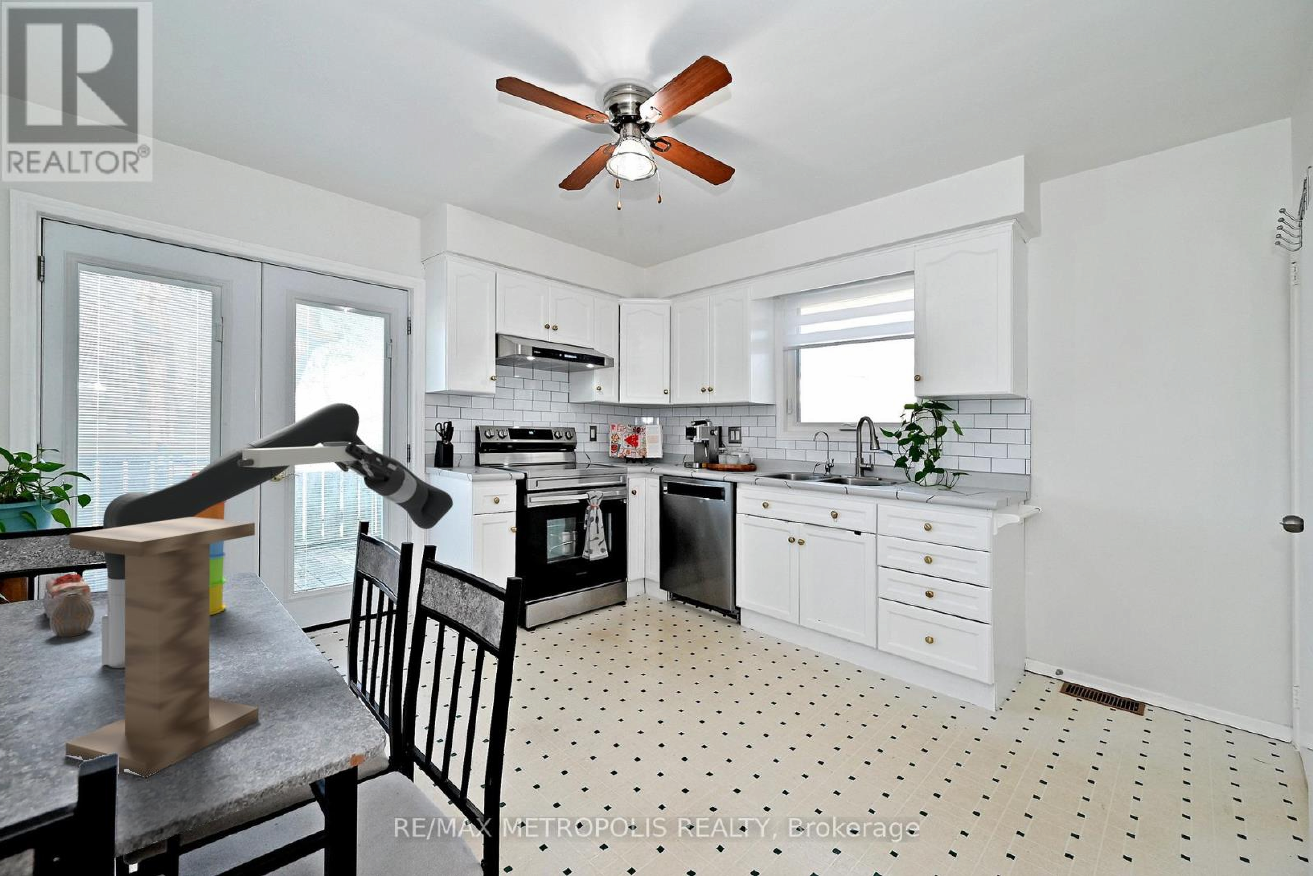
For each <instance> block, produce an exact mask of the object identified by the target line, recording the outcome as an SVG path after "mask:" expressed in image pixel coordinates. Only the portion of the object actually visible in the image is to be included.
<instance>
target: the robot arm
mask: <svg viewBox="0 0 1313 876" xmlns="http://www.w3.org/2000/svg"><path fill="white" fill-rule="evenodd" d="M359 425H360V414H359V412H358V410H357V409H356V408H355V407H354V406H352V405H351V404H348V403H344V402H343V403H342V402H335V403H330V404H327V405H325V406H322V407H321V408H319V409H317V410H316V411H314V412H312V413H310V414H308V415H307V416H305V417H303V418H301V419H300V420H298V421H296V422H294V423H292V424H289V425H288V426H286V427H283V428H281V429H279V430H277V431H273V432H272V433H270V434H268V435H265V436H263V437H261V438H259V439H256V440H254V441H251V442H248V443H245V444H244V445H242V446H239V447H237V448H235V449H232V450H230V451H228V452H226V453H224V454H222V455H220V456H219V457H217V458H216V459H215V460H213V461H212V462H210V463H209V464H207V465H206V466H205V467H204V468H202V469H200V471H198V472H196V473H197V474H195V475H193V476H192V475H191V476H192V477H190V476H189V478H186V479H183V480H181V481H180V482H177V483H175V484H172V485H169V486H167V487H164V488H162V489H159V490H156V491H152V492H150V493H148V492H142V491H131V492H126V493H123V494H121V495H119V496H117V497H115V498H113V500H111V502H110V503H109V504H108V505H107V506H106V508H105V510H104V514H103V521H102V523H103V524H102V526H103V527H102V529H109V528H116V527H123V526H130V525H137V524H144V523H151V522H158V521H165V520H172V519H179V518H186V517H194V516H196V515H197V514H199V513H201V512H202V511H204V510H206V509H208V508H210V507H212V506H214V505H216V504H219V503H221V502H223V501H226V502H227V501H228V500H231V499H232V498H234V497H237V496H239V495H241V494H243V493H244V492H245V493H246V492H247V491H249V490H251V489H253V488H256V487H258V486H259V485H262V484H263V483H266V482H268V481H271V479H274V478H275V477H277V476H279V475H280V474H282V473H283V472H284V471H286V470H287V469H288V468H289V467H291V465H288V466H275V467H261V468H259V467H239V466H238V464H237V462H238V460H241V459H243V449H261V448H286V447H311V446H318V445H319V444H321V446H323V442H350V443H348V445H347V447H346V450H345V452H346V453H348V454H349V455H351V456H352V457H353V458H355V459H356V460H355V461H342V462H333V463H334V464H335V465H336V466H337V467H338V468H339V469H341V471H342V472H343V473H345V472H346V473H348V472H349V470H351V471H353V472H355V473H356V474H357V475H359V476H361V477H362V478H363V480H364V481H363V483H364V484H365V486H366V487H367V488H368V489H370V490H372V491H373V492H374V493H376V494H378V495H379V496H381V497H383V498H384V499H386V500H388V501H390V502H393V503H394V504H396V505H398V506H399V507H400V508H402V509H403V510H405V511H406V513H407V514H408V516H409V517H410V519H411V520H412V522H413V523H414V524H415V526H417V527H418V528H421V529H423V530H428V529H432V528H433V527H435V526H436V525H437V524H438V523H439V521H440V520H442V518H443V517H444V516H445V515H446V514H448V512H449V511H450V510H451V509H452V508H453V506H454V500H453V497H452V495H450V494H449V493H448V492H446V491H445V490H443V489H441V488H438V487H436V486H433V485H431V484H430V483H428V482H426V481H424V480H423V479H421V478H419V477H418V476H417V475H416V474H414V473H413V471H411V470H410V469H409V468H407V467H406V466H405V465H404V464H402V463H401V462H400V461H399V460H397V459H395V458H393V457H390V456H388V455H385V454H383V453H380V452H377V451H376V450H374V449H372V448H371V447H369V445H367V444H366V443H365V442H364V441H363V440H362V439H361V438H360V437H359V436H358V434H357V433H358V428H359ZM356 445H367V451H366V450H362V449H361V448H359V447H358V446H356ZM103 555H104V562H105V565H106V572H107V577H106V578H107V614H104V615H103V616H102V617H101V666H105V665H106V666H108V667H109V668H113V669H125V555H122V554H114V553H106V552H103Z"/></svg>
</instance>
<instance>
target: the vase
mask: <svg viewBox="0 0 1313 876" xmlns="http://www.w3.org/2000/svg"><path fill="white" fill-rule="evenodd" d="M95 616H96V615H95V609H94V606H93V604H92V603H89V602H88V601H87V600H86V599H84V598H83V597H82V596H81V594H80V593H72V594H67V595H65V596H64V598H63V600H62V601H61V602H60V603H59V604H58V605H57V606H56V607H55V608H54V610H53V611H52V614H51V616H50V618H49V626H50V629H51V631H52V632H53V634H55V635H56V636H58V637H60V638H61V637H62V638H69V637H75V636H79V635H82V634H84V633H86V632H87V631H88V630H89V629H90V628H91V627H92V625H93V624H94V622H95V621H94V620H95Z"/></svg>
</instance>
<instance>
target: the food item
mask: <svg viewBox="0 0 1313 876" xmlns="http://www.w3.org/2000/svg"><path fill="white" fill-rule="evenodd" d="M72 593H80V594H81V596H82V597H83V598H84V599H86V600H87V601H88V602H89V603H90V604H92V603H91V601H92V592H91V588H90V585H89V584H88V583H87V582H86V581H85V578H83V576H81V575H80V574H71V573H67V574H65V575H61V576H58V577H54V576H53V577H52V576H51V578H50V579H48V580H46V581H45V588H44V595H43V598H42V604H43V609H44V612H45V615H46V619H50V616H51V614H52V611H53V610H54V608H55V607H56V606H57V605H58V604H59V603H60V602H61V601H62V600H63V598H64V596H65V595H67V594H72Z"/></svg>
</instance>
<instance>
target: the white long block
mask: <svg viewBox="0 0 1313 876" xmlns="http://www.w3.org/2000/svg"><path fill="white" fill-rule="evenodd" d="M348 443H350V442H323V445H315V446H311V447H286V448H261V449H243V459H241V460H238V462H237V464H238V466H239V467H259V468H261V467H275V466H288V465H290V466H298V465H313V464H315V465H316V464H327V463H334V462H342V461H355V460H356V459H355V458H353V457H352V456H351V455H349V454H348V453H346V452H345V450H346V447H347V445H348ZM356 446H358V447H359V448H361V449H362V450H366V451H367V446H368V445H367V444H366V445H356Z"/></svg>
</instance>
